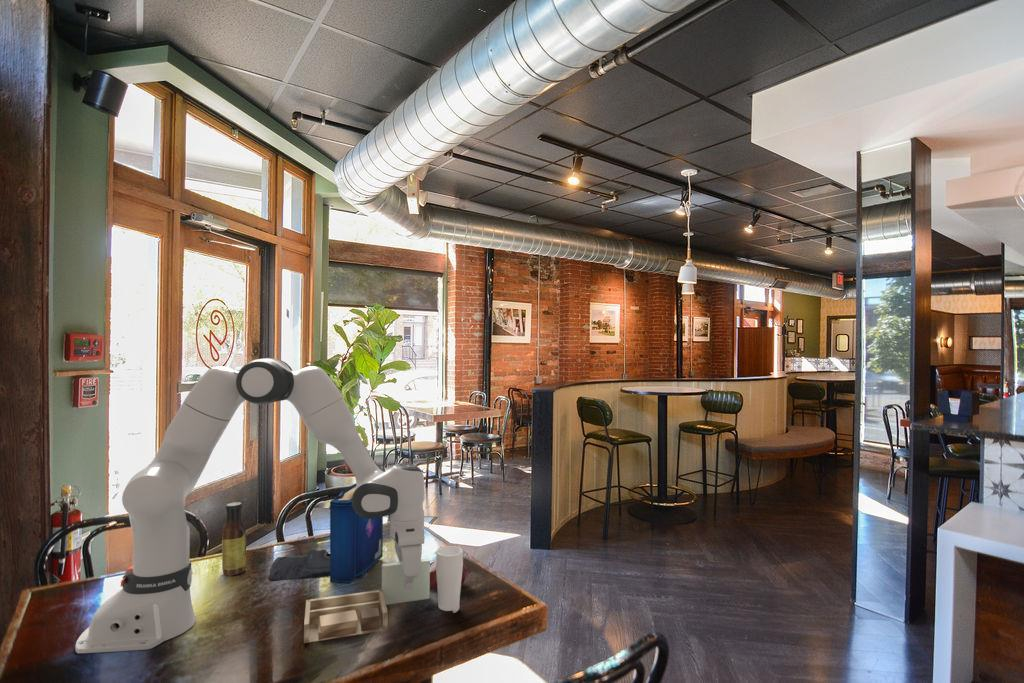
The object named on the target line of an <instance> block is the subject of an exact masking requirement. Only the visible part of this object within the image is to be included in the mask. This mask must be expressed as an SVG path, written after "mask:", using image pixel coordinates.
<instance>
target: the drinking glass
mask: <svg viewBox="0 0 1024 683" xmlns="http://www.w3.org/2000/svg"><path fill="white" fill-rule="evenodd" d="M463 552H464V551H463V549H462V548H461V547H459V546H455V545H450V546H443V547H440V548H437V550H436V554H435V555H436V558H435V560H436V575H437V589H436V590H437V602H438V603H437V604H438V606H437V607H438V609H439V610H441V611H445V612H450V611H452V613H453V614H455V613H457V612H458V611H459V610H460V598H461V590H462V585H461V580H462V570H463V563H464V554H463Z"/></svg>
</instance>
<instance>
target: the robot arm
mask: <svg viewBox="0 0 1024 683" xmlns="http://www.w3.org/2000/svg"><path fill="white" fill-rule="evenodd" d="M285 400H286V401H288V402H290V403H291V404H292V406H293V407H294V408H295V410H296V411H297V412H298V415H299V416H300V419H302V422H303V424H304V426H305V427H306V429H307V430H308V432H309V433H310V434H311V435H312V436H313V438H315V440H316V441H318V442H320V443H323V444H326V445H329V446H332V447H333V448H334V449H336V450H337V451H338V452H339V453H340V454H341V456H342V457H343V459H344V461H345V462H346V464H347V466H348V468H349V469H350V470H351V472H352V475H353V476H354V478H355V484H356V488H355V491H354V493H353V496H352V506H353V509H354V511H355V512H356V513H357V514H358V515H359V516H361V517H363V518H366V519H373V518H379V517H387V516H389V527H388V528H389V531H388V534H389V537H390V538H392V539H393V541H394V550H395V551H394V552H395V553H396V556H397V560H398V562H399V563H400V566H401V569H402V572H403V575H404V577H405V589H406V590H412V588H413V580H414V577H418V576H419V573H420V566H421V559H422V553H423V547H422V546H423V544H425V510H424V502H425V496H426V495H425V494H426V491H425V490H426V489H425V486H426V485H425V476H424V472H423V471H422V469H421V468H420V467H419V466H418V465H416V464H415V465H414V464H413V463H412V464H411V463H407V462H401V463H395V464H394V465H393V466H392V467H390V468H389V469H386V470H385V469H384V468H383V467H382V466H380V465H379V464H378V463H377V462H376V461H375V459H374V458H373V455H371V453H370V451H369V450H368V448H367V446H366V445H365V443H364V441H363V440H362V438H361V437H360V434H359V432H358V430H357V427H356V424H355V421H354V418H353V415H352V413H351V410H350V408H349V407H348V403H347V401H346V400H345V398H344V397H343V395H342V393H341V392H340V390H339V388H338V387H337V386H336V384H335V382H334V381H333V380H332V379H331V377H330V376H329V375H328V374H327V373H326V371H325V370H324V369H323V368H321V367H320V366H319V367H318V366H314V365H313V366H306V367H303V368H301V369H299V370H295V371H293V369H292V368H291V366H290V365H289V364H288V363H287V362H285V361H283V360H281V359H277V358H273V357H262V358H259V359H253V360H251V361H248V362H247V363H246V364H244V365H243V366H242V367H241V368H240V370H237V369H233V368H230V367H228V366H221V365H220V366H214V367H211V368H209V369H208V370H206V372H204V374H203V375H202V376H201V377H200V378H199V379H198V381H197V382H196V383H195V385H193V387H192V388H191V390H190V391H189V393H188V394H187V395H186V397H185V398H184V400H183V402H182V404H181V405H180V407H179V408H178V410H177V411H176V414H175V415H174V417H173V418H172V420H171V422H170V423H169V426H168V427H167V428H166V430H165V433H164V437H163V439H162V441H161V444H160V446H159V449H158V450H157V453H156V454H155V457H154V458H153V460H152V461H151V462H149V463H150V464H148V465H147V466H145V467H144V468H143V469H142V470H140V471H138V472H137V473H136V474H134V475H133V476H132V477H131V478H130V479H129V481H128V483H127V484H126V486H125V488H124V490H123V492H122V497H121V498H122V499H121V501H122V502H121V503H122V506H123V508H124V510H125V511H126V512H127V513H128V517H129V523H130V527H131V531H132V539H133V540H132V541H133V545H132V547H133V550H132V554H133V555H132V565H131V566H129V567H128V568H127V569H126V570H125V573H124V575H123V576H122V579H121V580H120V587H122V589H120V590H118V591H117V592H116V593H115V594H113V595H112V596H111V597H110V598H108V599H107V600H105V601H104V602H103V603H102V604H101V605H100V606H99V607H98V609H97V610H95V613H94V614H93V615H92V619H91V620H90V621H91V622H90V625H89V626H88V627H87V628H85V630H84V631H83V632H82V633H81V634H80V635H79V637H78V638H77V640H76V642H75V647H74V650H75V653H77V654H92V653H95V654H96V653H109V652H110V653H112V652H113V653H114V652H127V651H141V650H142V651H143V650H144V651H145V650H151V649H153V648H155V647H156V646H158V645H160V644H161V643H163V642H165V641H167V640H170V639H173V638H175V637H177V636H179V635H182V634H183V633H185V632H187V631H188V630H189V629H191V628H192V627H193V626H194V625H195V624H196V621H197V618H196V615H195V611H194V607H193V604H192V597H191V585H192V580H193V579H192V578H193V576H192V575H193V569H192V561H191V560H190V550H191V549H190V548H191V547H190V544H191V542H190V541H191V540H190V539H191V531H190V530H191V529H190V527H189V525H188V522H187V521H188V520H187V516H186V508H185V501H186V498H187V496H188V495H189V494H190V493H191V492H192V491H193V490H194V488H195V486H196V485H197V482H198V480H200V477H201V475H202V473H203V471H204V470H205V468H206V465H207V463H208V461H209V460H210V458H211V455H212V453H213V451H214V450H215V447H216V445H217V444H218V442H219V441H220V439H221V437H222V436H223V434H224V433H225V430H226V428H227V427H228V425H229V423H230V422H231V420H232V418H233V416H234V415H235V413H236V411H237V410H238V409H239V407H240V406H241V405H242V403H244V402H245V401H247V402H249V403H251V404H254V405H267V404H272V403H276V402H281V401H285Z"/></svg>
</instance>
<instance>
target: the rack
mask: <svg viewBox="0 0 1024 683" xmlns="http://www.w3.org/2000/svg"><path fill="white" fill-rule="evenodd" d="M372 608H378V610H379V615H380V624H379V629H374V630H368V631H361V610H365V609H372ZM351 610H356V614H357V618H358V626H357V627H356V634H350V635H343V636H337V637H331V638H324V639H318V632H319V619H320V616H322V615H328V614H334V613H339V612H345V611H351ZM388 618H389V617H388V608H387V605H386V603H385V598H384V594H383V590H382V589H377V590H370V591H361V592H355V593H348V594H340V595H339V594H338V595H333V596H324V597H318V598H311V599H310V598H309V599H306V600H305V610H304V622H303V623H304V624H303V644H305V643H306V644H308V643H314V642H319V641H320V642H321V641H325V640H332V639H339V638H345V637H352V636H357V635H364V634H370V633H375V632H376V633H377V632H383V631H388Z"/></svg>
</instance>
